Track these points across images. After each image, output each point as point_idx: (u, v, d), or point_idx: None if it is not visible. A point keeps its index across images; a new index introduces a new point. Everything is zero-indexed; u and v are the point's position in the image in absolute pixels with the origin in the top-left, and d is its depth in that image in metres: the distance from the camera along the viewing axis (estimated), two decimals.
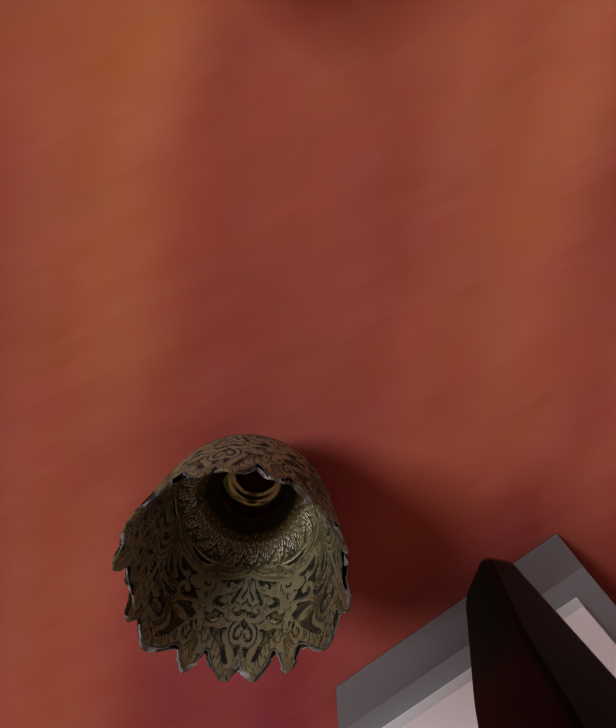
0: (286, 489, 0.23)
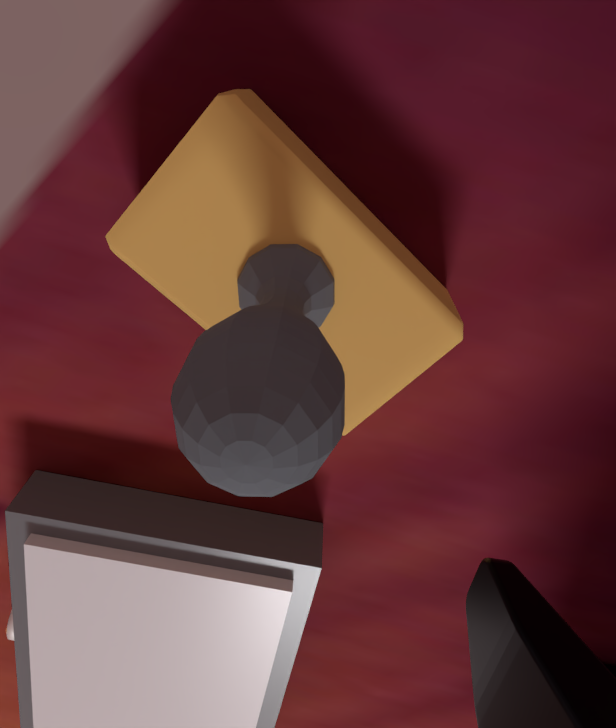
0: None
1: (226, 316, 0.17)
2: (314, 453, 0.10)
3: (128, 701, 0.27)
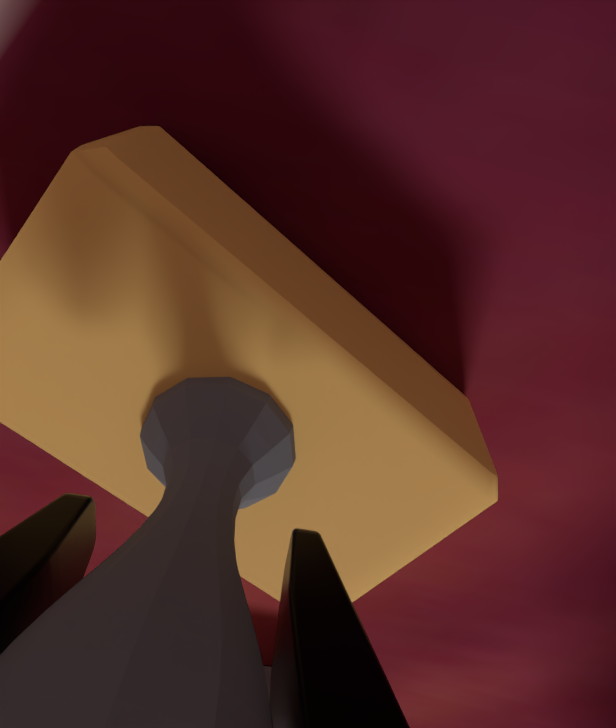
0: None
1: (132, 477, 0.11)
2: None
3: None
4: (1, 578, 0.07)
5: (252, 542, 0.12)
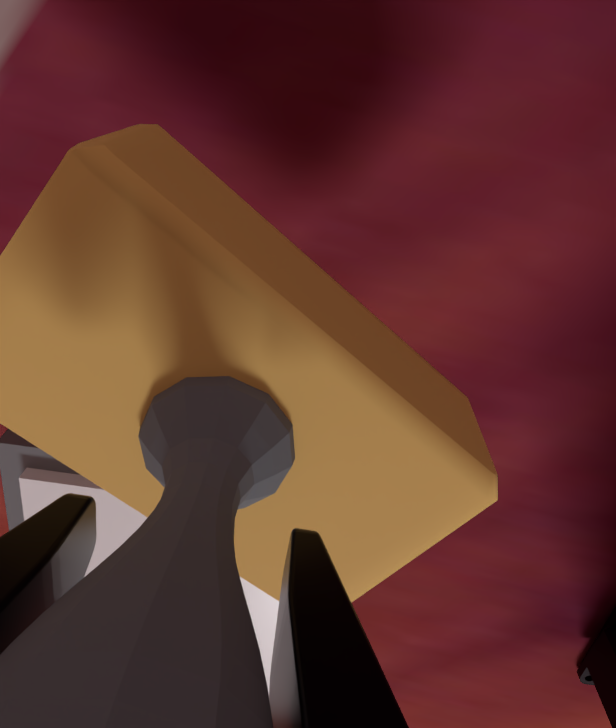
0: None
1: (130, 477, 0.11)
2: None
3: None
4: (2, 578, 0.07)
5: (251, 542, 0.12)
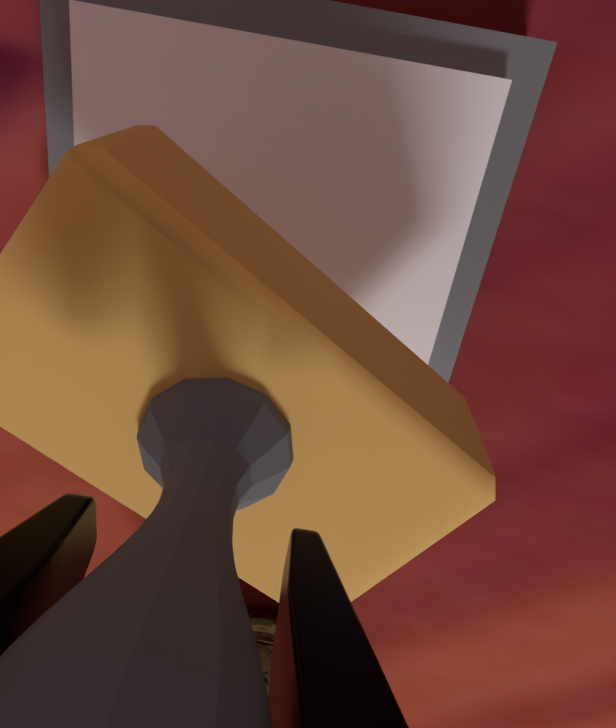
0: None
1: (128, 479, 0.11)
2: None
3: None
4: (2, 578, 0.07)
5: (249, 543, 0.12)
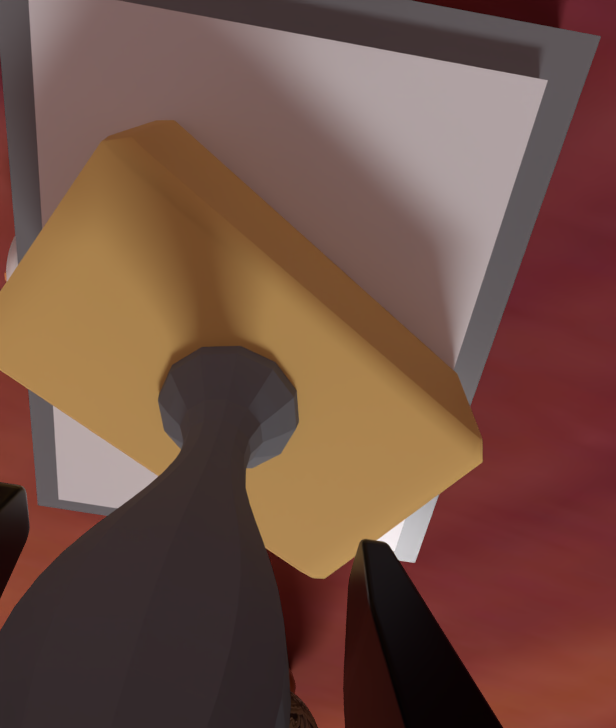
0: None
1: (149, 440, 0.12)
2: None
3: None
4: None
5: (258, 501, 0.13)
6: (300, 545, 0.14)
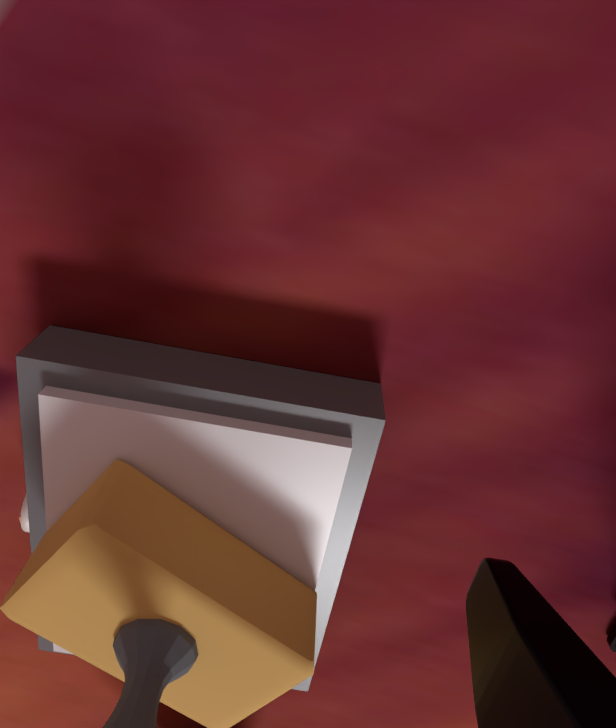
0: None
1: (108, 660, 0.20)
2: None
3: None
4: None
5: (177, 692, 0.21)
6: (205, 715, 0.22)
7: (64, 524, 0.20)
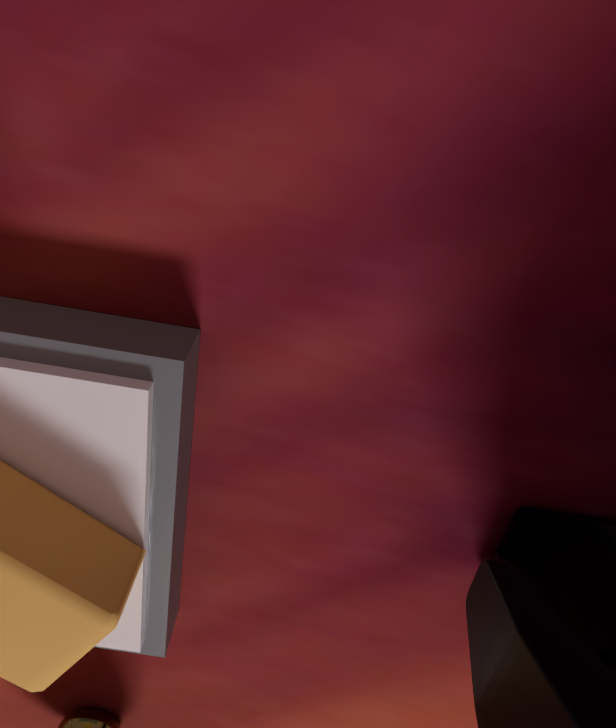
0: None
1: None
2: None
3: None
4: None
5: None
6: (15, 673, 0.21)
7: None
